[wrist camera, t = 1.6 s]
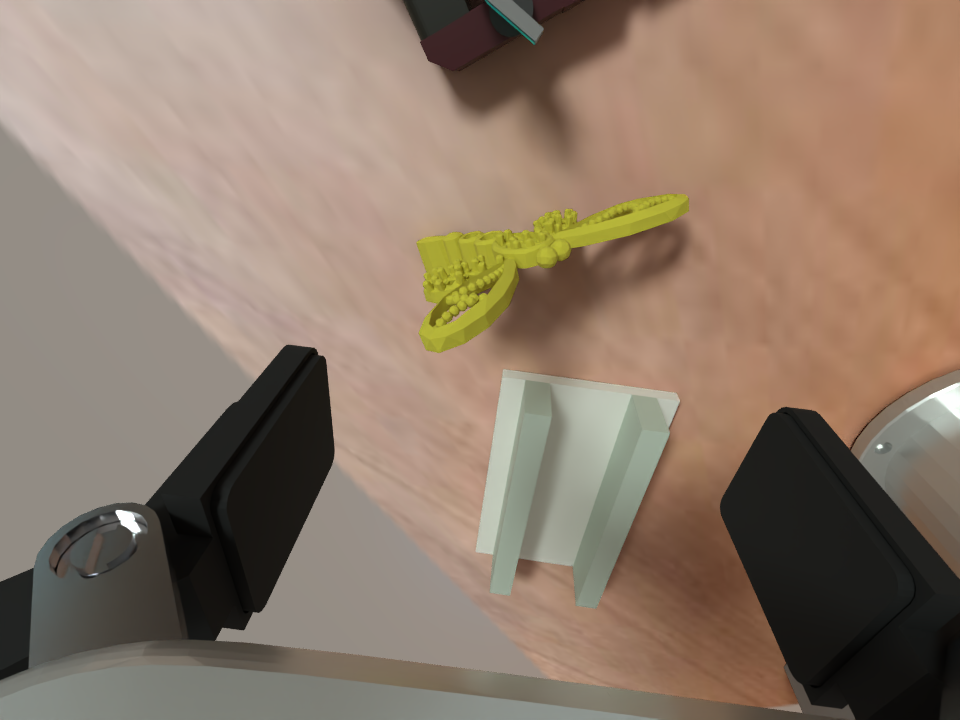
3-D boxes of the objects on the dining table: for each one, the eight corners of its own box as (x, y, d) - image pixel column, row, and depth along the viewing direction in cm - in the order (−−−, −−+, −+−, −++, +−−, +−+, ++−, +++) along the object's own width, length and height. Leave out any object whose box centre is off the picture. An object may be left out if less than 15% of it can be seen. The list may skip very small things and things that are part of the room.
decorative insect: (533, 183, 26) (697, 178, 19) (544, 238, 28) (699, 255, 20) (323, 277, 21) (428, 325, 13) (351, 338, 23) (460, 413, 15)
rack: (676, 392, 27) (695, 436, 23) (607, 562, 35) (614, 611, 32) (503, 368, 27) (499, 409, 24) (476, 542, 36) (471, 589, 32)
